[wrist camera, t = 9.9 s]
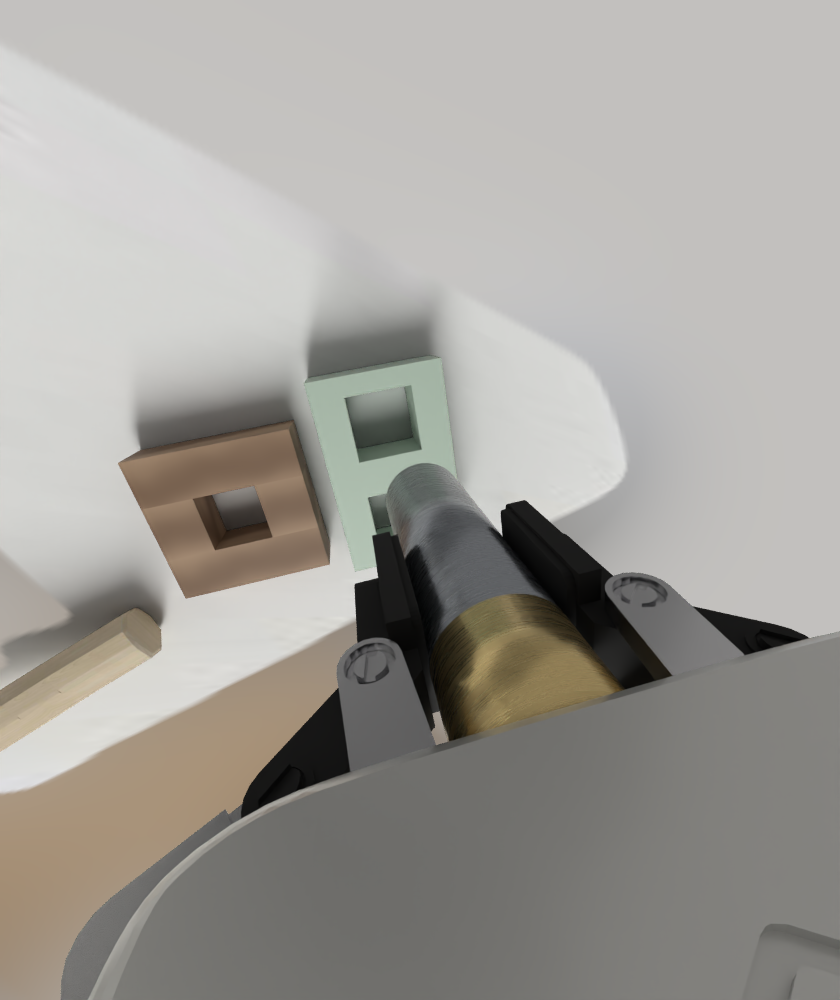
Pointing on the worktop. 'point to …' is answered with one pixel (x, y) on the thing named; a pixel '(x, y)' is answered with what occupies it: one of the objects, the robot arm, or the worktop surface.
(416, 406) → the frame
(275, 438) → the socket block
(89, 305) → the worktop surface
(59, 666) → the hammer
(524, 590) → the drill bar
